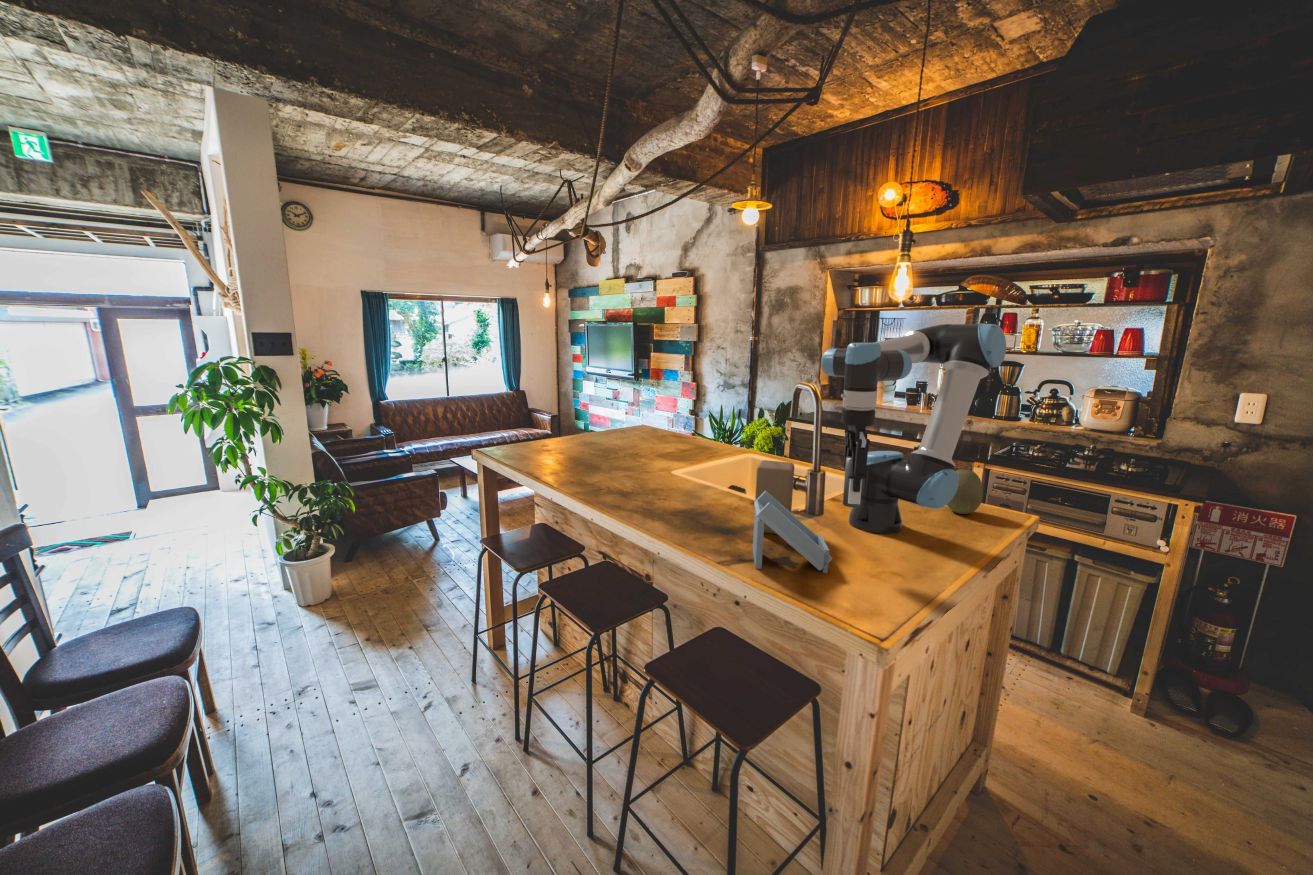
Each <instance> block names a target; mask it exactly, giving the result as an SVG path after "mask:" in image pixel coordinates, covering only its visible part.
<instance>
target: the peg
mask: <svg viewBox="0 0 1313 875" xmlns="http://www.w3.org/2000/svg"><path fill="white" fill-rule="evenodd" d="M851 474H852V456H849V457H846V466H845V467H844V478H843V479H844V481H843V494H842V496H843V497H842V505H843V506H844V507H846V508H847V507H848V508H853V507H859V506H860V504H848V496H849V483H850V479H849V478H848V476H851Z"/></svg>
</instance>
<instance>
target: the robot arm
mask: <svg viewBox="0 0 1313 875" xmlns="http://www.w3.org/2000/svg"><path fill="white" fill-rule="evenodd" d="M1006 351H1007V341H1006V335H1005V333H1004V330H1003V329H1002V327H1000V326H999V325H998V324H994V323H983V322H982V323H981V322H980V323H955V324H954V323H951V324H950V323H945V324H943V323H942V324H935V325H931V326H927V327H924V328H920V329H916V330H911V331H908V332H906V333H905V334H904V335H903V336H900V337H894V338H889V339H885V340H881V341H874V342H851V343H849V344H848V345H847V347H846V348H840V347H835V348H829V349H827V350H826V351H825V352H824V353H823V354H822V357H821V360H820V362H821V366H820V367H821V370H822V372H823V373H824V374H825V375H827V376H829V377H830V376H831V377H835V378H844V382H843V384H844V386H843V393H841V394H840V397H841V398H842V406H843V408H842V409H841V424H844V425H846V426H848V428H845V429H844V447H843V448H844V450H843V464H842V466H843V468H845V466H846V457H849V456H852V474H851V476H848V478H849V479H850V483H849V496H848V504H860V506H859V507H851V510H850V512H849V517H848V523H849V524H850V525H851V526H853V527H854V528H857V529H859V530H862V531H866V532H869V533H874V534H875V533H877V534H895V533H898V532H901V530H902V528H903V520H902V519H903V518H902V515H901V511H900V507H899V500H900V501H904V502H908V503H911V504H915V505H918V506H920V507H922V508H930V509H933V510H936V509H937V510H938V509H942V508H943V507H945V506H947V504H948V503H949V502H950V501H951V500H952V498H953V497H954V495H955V494H956V491H957V489H958V485H959V483H958V481H959V476H958V474H957V472H956V470H955V469H956V464H955V462H954V461H953V455H954V453H955V450H956V447H957V444H958V442H959V438H960V436H961V433H962V430H963V427H964V425H965V422H966V420H967V417H968V414H969V410H970V409H971V405H972V403H973V399H974V396H975V394H976V392H977V388H978V386H979V383H980V380H982V379H984V378H986V377H988V375H989V373H990V372H991V368H997V367H999V366H1001V365H1002V363H1003V362H1004V360H1005V357H1006V353H1007V352H1006ZM918 363H928V364H929V363H932V364H942V367H943V368H944V371H945V372H946V373H945V374H944V378H943V380H942V383H941V387H940V389H939V391H938V394H937V398H936V400H935V403H934V405H933V407H932V411H931V414H930V416H929V419H928V422H927V425H926V427H925V431H924V432H923V436H922V439H921V442H920V444H919V447H918V448H917V449H916V450H914V451H912V452H910V454H909V457H908V459H905V458H904V454H903V452H900V451H894V450H876V451H875V450H874V451H869V447H870V443H871V440H870V438H868V432H867V430H866V429H867V428H866V427H868V426H869V427H870V426H873V425H874V424H875V420H876V410H875V409H874V408H877V401H878V385H879V382H889V381H892V382H895V381H899V380H903V379H905V378H906V377H907V376H908V375H909V374H910V373H911V371H912V368H913V364H918Z"/></svg>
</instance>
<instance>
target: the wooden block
mask: <svg viewBox="0 0 1313 875" xmlns="http://www.w3.org/2000/svg"><path fill="white" fill-rule="evenodd" d="M794 476H795V464H794V463H793V462H788V461H778V460H766V459H764V460H761V461H760V463H759V464H758V466H757V468H756V478H755V496H754V502H755V501H756V500H757V499H758V498H759V496H760V495H761V494H762V493H763V492H764V491H766V492H768V493H769V494H770V495H771V496H772V497H773V498H774V499H776V500H777V501H778V502H779V503H780V504H781V505H782V506H784V507H785V508H786V509H787V510H788V511H789V512H790V513H792V505H793V493H794V479H795V478H794ZM753 514H754V515H755V512H753ZM764 534H774V535H778V534H777V533H776V532H775V531H774V530H772V529H771V528H770V527H769V526H768V525H767V524H765V523H764Z"/></svg>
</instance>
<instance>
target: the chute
mask: <svg viewBox="0 0 1313 875" xmlns="http://www.w3.org/2000/svg"><path fill="white" fill-rule="evenodd" d="M753 506H754V513H755V515H754V517H753V534H752V535H753V537H752V538H753V539H752V540H753V541H752V557H753V562H754V568H755V570H762V567H763V566H762V565H763V551H764V550H763V549H764V534H765V533H764V523H765V524H767V525H768V526H769V527H770V528H771V529H772V530H774V531H775V532H776V533H777V534H776V535H778V536H779V537H781V539H783V540H784V541H785V543H787V544H788V545H789V546H791V547H792V548H793V549H794V550H795V551H796V552H797V553H799V554H800V555H801V556H802V557H803V558H804V559H805V560H806V561H808V562H809V563H810V564H811V565H813V567H815V568H816V569H817V570H818V571H822V573H823V574H828V571H829V569H828V568H829V563H830V562H831V561H832V560H833V559H834V558H833V557H832V556H831V555H830V549H829V547H828V546H827V543H826V541H825V540H824V537H823V535H822V534H821V533H814V532H813V530H811V529H810V528H809V527H808V526H807V525H806V524H804V523H803V522H802V521H801V520H800V519H799V518H797V516H796V515H794V514H793V513H792V512H791V513H790V512H789V511H788V510H787V509H786V508H785V507H784V506H782V505H781V504H780V503H779V502H778V501H777V500H776V499H774V498H773V497H772V496H771V495H770V494H769V493H768V492H766V491H764V492H763V493H762V494H761V495H760V496H759V498H758V499H757V500H756V501H755V500H754V502H753Z"/></svg>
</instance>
